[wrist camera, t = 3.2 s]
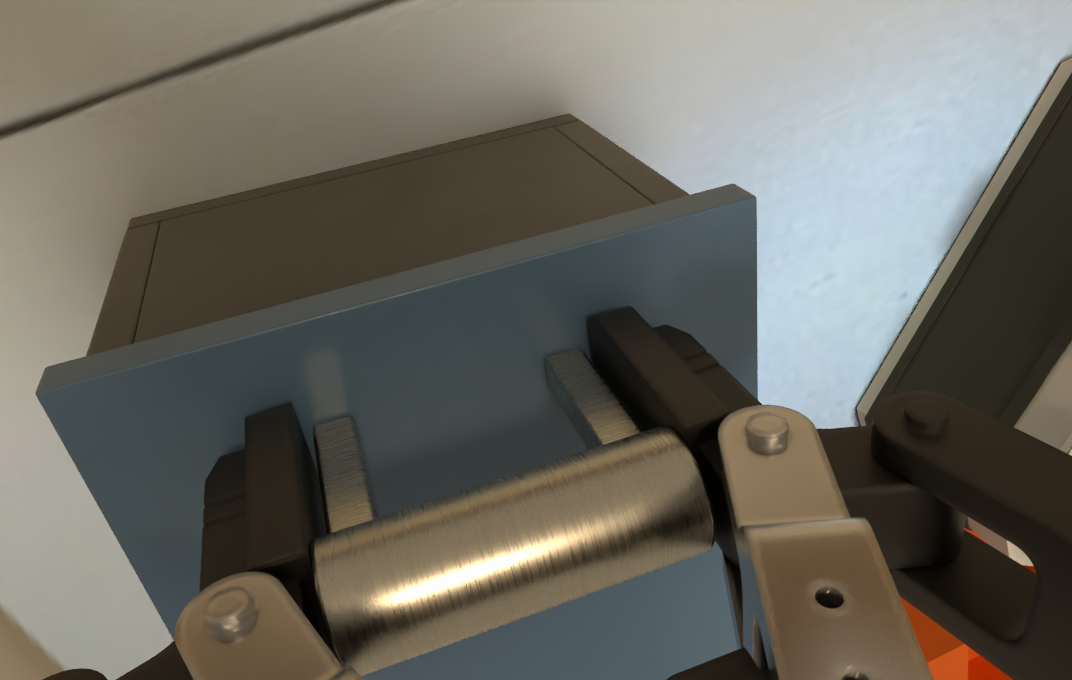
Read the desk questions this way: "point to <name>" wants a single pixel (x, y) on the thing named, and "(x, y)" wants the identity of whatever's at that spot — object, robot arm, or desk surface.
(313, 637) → the robot arm
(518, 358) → the lid
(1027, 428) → the camera
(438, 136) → the desk surface
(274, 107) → the desk surface
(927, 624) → the orange slotted stand
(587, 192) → the open box
